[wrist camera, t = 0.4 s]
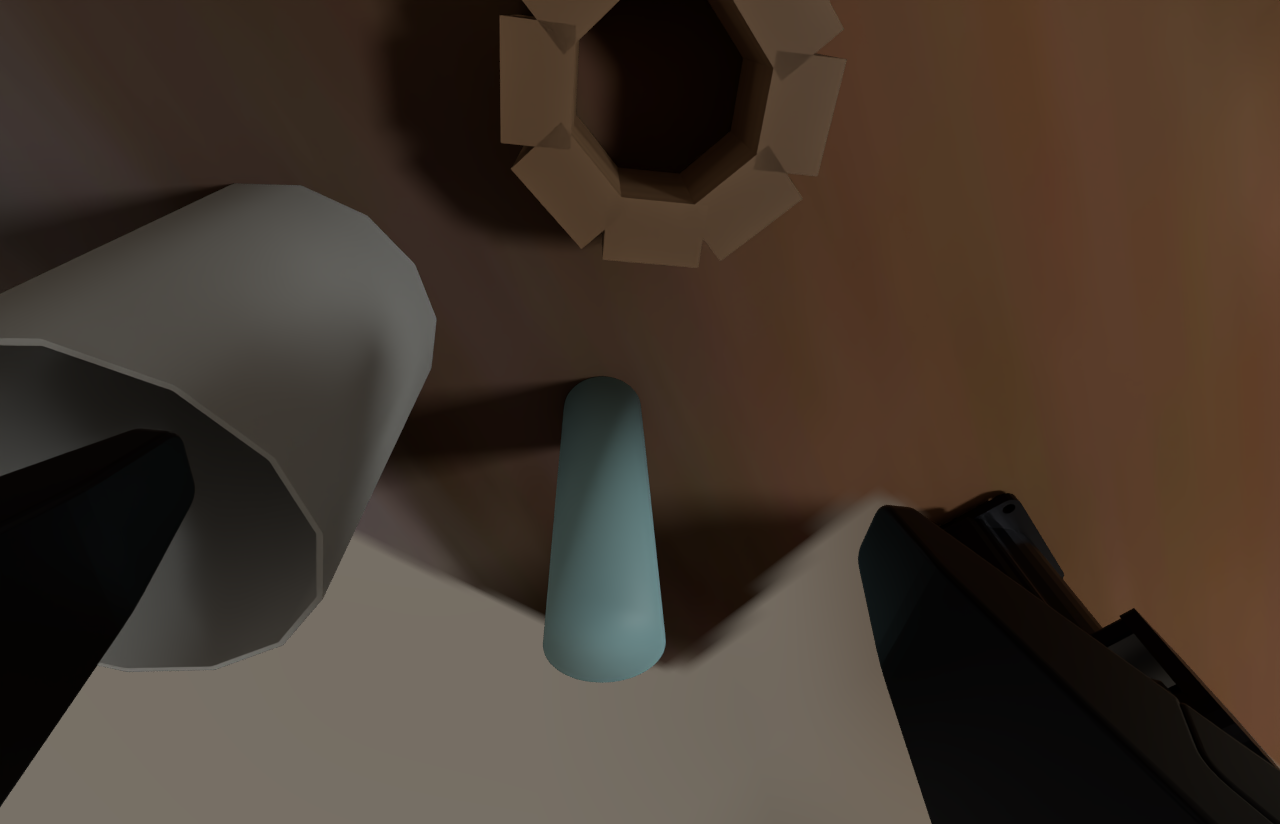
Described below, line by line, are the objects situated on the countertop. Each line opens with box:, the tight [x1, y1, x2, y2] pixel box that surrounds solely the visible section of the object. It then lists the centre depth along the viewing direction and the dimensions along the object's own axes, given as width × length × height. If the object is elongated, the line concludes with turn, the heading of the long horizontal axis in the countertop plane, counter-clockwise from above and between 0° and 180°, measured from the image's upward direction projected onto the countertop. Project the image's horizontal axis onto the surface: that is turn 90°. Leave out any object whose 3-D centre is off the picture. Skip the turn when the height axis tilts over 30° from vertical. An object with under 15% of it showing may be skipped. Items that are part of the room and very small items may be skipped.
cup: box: [0, 184, 436, 672], centre depth 16 cm, size 8×8×10 cm
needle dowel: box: [543, 377, 666, 682], centre depth 18 cm, size 3×3×10 cm
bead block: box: [500, 0, 847, 268], centre depth 16 cm, size 8×8×4 cm
